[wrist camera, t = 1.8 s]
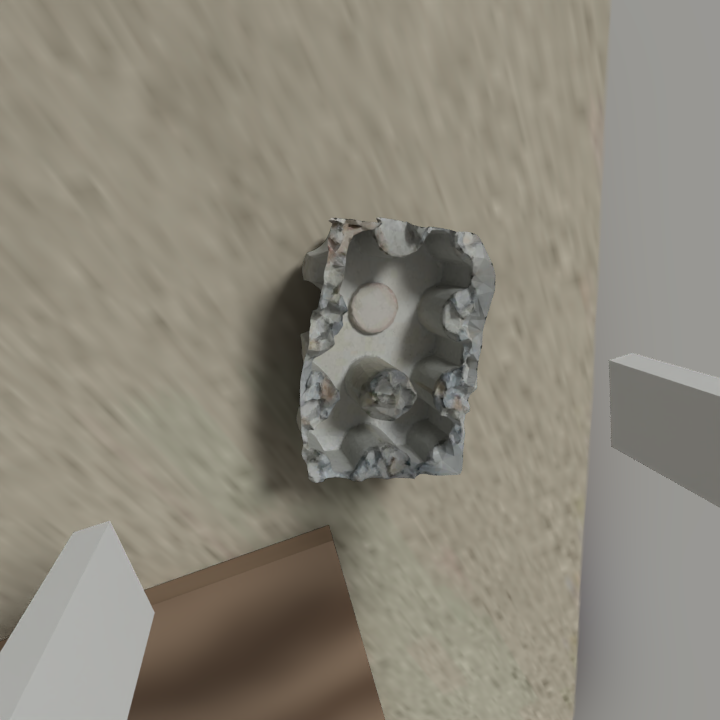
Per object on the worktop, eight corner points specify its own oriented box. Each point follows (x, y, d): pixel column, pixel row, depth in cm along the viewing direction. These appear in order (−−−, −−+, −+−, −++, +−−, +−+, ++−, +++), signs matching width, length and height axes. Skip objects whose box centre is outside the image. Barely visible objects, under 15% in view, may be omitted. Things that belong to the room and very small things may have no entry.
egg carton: (301, 210, 17) (327, 199, 13) (460, 236, 20) (520, 233, 16) (280, 454, 19) (297, 503, 16) (426, 448, 22) (470, 490, 18)
